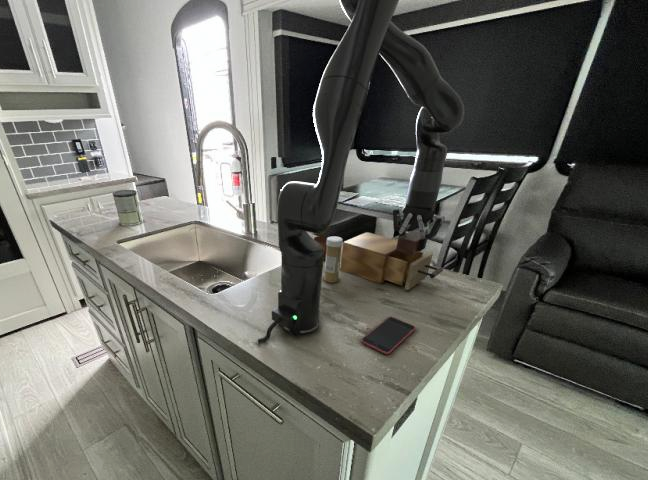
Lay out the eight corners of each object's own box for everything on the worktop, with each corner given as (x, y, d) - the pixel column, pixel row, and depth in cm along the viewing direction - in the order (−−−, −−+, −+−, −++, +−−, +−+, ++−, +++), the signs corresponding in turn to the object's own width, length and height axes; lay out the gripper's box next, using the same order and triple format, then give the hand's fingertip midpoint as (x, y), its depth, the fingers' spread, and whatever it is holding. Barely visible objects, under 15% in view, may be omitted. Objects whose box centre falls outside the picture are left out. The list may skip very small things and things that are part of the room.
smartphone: (359, 339, 73) (389, 315, 81) (359, 341, 73) (389, 317, 81) (388, 354, 68) (417, 326, 77) (387, 356, 69) (416, 328, 77)
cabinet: (401, 270, 106) (407, 242, 101) (380, 284, 98) (385, 254, 93) (362, 258, 115) (366, 232, 110) (340, 269, 107) (343, 242, 102)
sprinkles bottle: (341, 280, 100) (346, 239, 93) (330, 284, 97) (334, 242, 91) (331, 275, 103) (335, 234, 96) (320, 278, 101) (323, 237, 94)
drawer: (443, 281, 97) (450, 257, 93) (425, 296, 89) (432, 270, 85) (386, 264, 108) (391, 241, 104) (367, 275, 101) (370, 252, 97)
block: (424, 247, 95) (427, 234, 93) (412, 255, 90) (415, 241, 88) (408, 243, 98) (411, 230, 96) (395, 250, 93) (398, 237, 91)
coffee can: (117, 222, 154) (109, 191, 147) (138, 218, 160) (132, 188, 153) (124, 227, 148) (116, 195, 140) (146, 222, 153) (139, 192, 146)
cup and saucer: (338, 263, 111) (339, 246, 108) (303, 259, 114) (304, 243, 111) (340, 250, 121) (342, 234, 118) (309, 247, 124) (310, 232, 120)
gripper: (457, 189, 83) (440, 251, 92) (404, 182, 92) (393, 239, 100) (446, 194, 78) (429, 258, 87) (391, 185, 87) (381, 245, 96)
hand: (410, 247), depth 94 cm, fingers closed on block, 5 cm apart
